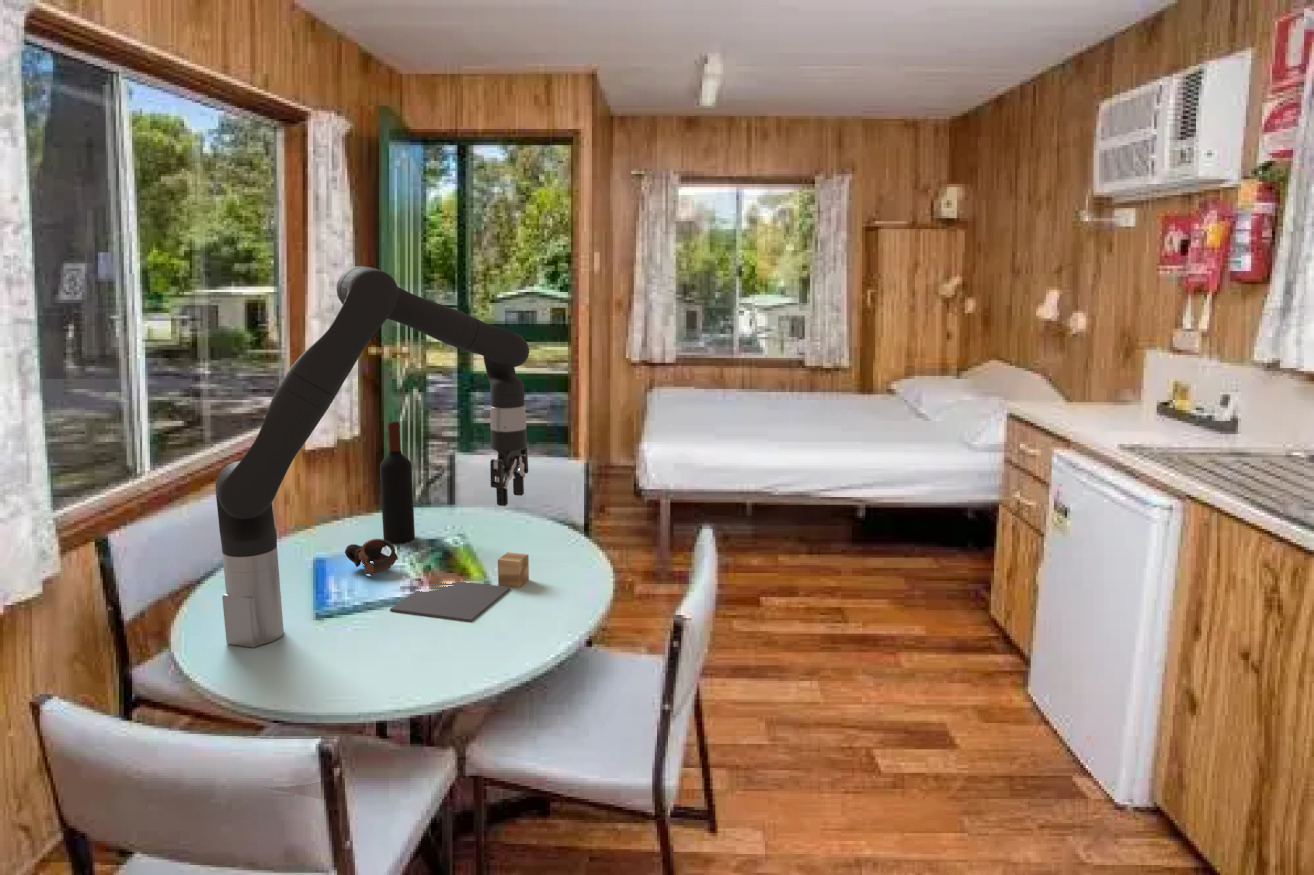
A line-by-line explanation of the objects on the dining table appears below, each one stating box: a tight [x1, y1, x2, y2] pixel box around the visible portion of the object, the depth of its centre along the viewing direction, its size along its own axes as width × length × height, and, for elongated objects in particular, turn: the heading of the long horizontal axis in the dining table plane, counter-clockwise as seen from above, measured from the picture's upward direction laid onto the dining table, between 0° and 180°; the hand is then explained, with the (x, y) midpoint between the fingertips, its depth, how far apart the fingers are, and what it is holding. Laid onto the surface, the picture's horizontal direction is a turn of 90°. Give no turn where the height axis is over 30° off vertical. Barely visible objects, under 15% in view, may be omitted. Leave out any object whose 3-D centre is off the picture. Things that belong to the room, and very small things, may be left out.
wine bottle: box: [379, 420, 416, 545], centre depth 222 cm, size 8×8×30 cm
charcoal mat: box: [389, 580, 511, 622], centre depth 187 cm, size 18×18×1 cm
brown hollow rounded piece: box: [344, 538, 399, 575], centre depth 203 cm, size 12×10×8 cm
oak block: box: [497, 552, 530, 589], centre depth 196 cm, size 5×5×6 cm
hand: (510, 500), depth 194 cm, fingers open, 8 cm apart
